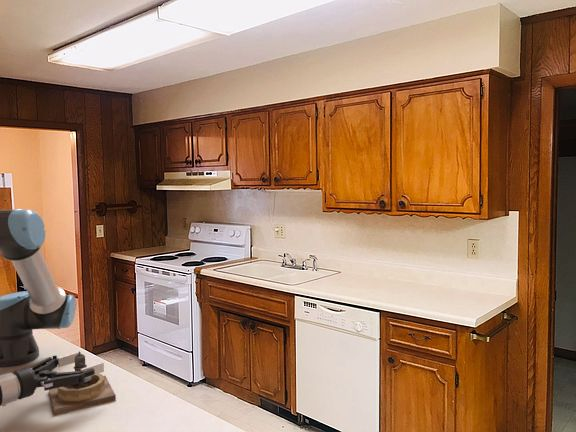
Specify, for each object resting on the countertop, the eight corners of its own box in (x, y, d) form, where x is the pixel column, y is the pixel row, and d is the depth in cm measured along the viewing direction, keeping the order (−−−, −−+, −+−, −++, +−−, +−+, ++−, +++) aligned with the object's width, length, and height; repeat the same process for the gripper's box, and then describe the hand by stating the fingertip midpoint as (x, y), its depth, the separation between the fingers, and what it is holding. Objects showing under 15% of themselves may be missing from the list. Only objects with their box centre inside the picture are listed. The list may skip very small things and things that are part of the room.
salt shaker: (83, 396, 138) (82, 355, 137) (65, 394, 139) (64, 354, 138) (96, 387, 144) (94, 348, 143) (78, 386, 145) (77, 347, 144)
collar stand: (49, 392, 144) (48, 377, 144) (105, 380, 152) (104, 366, 152) (54, 414, 131) (53, 398, 130) (115, 400, 139) (115, 385, 138)
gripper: (-3, 386, 135) (71, 363, 151) (36, 414, 119) (114, 384, 136) (-5, 361, 134) (70, 340, 151) (34, 385, 119) (113, 358, 135)
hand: (91, 361), depth 143 cm, fingers open, 13 cm apart
